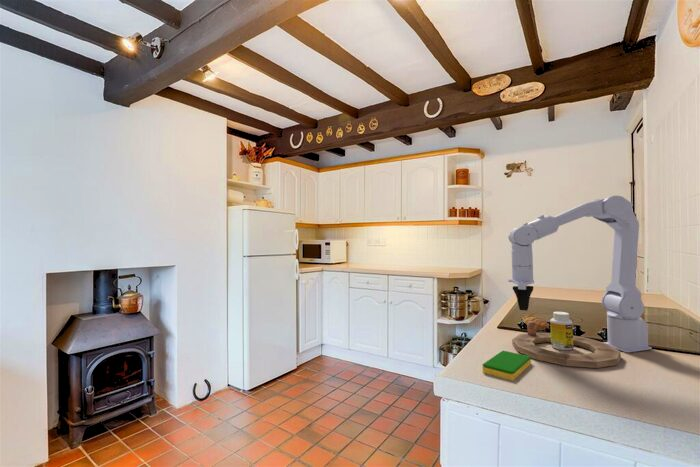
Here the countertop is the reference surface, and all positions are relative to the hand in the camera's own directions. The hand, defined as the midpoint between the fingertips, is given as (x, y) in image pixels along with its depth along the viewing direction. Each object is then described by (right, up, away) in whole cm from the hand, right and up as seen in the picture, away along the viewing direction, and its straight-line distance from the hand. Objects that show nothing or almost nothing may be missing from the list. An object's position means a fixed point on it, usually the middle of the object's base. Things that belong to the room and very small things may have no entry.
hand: (523, 310), depth 102 cm
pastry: (+14, -11, +18) cm, 25 cm away
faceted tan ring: (+7, -10, -8) cm, 15 cm away
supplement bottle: (+9, -10, -4) cm, 14 cm away
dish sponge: (-14, -11, -19) cm, 26 cm away
